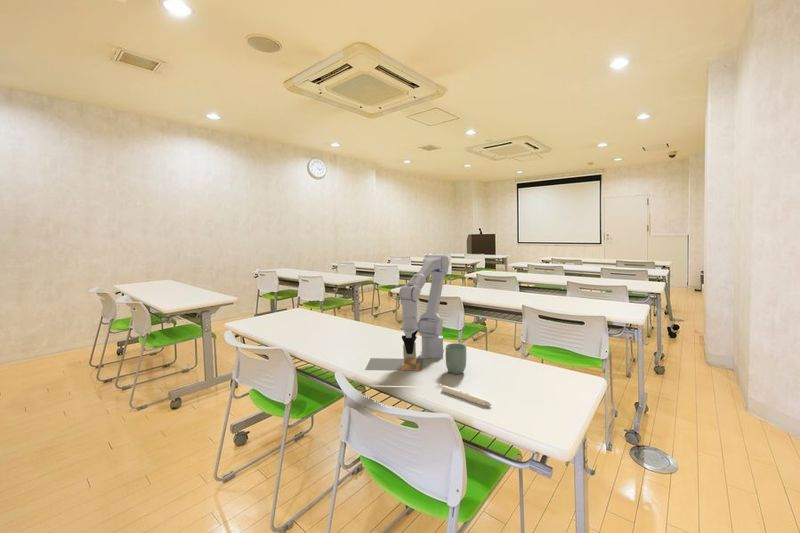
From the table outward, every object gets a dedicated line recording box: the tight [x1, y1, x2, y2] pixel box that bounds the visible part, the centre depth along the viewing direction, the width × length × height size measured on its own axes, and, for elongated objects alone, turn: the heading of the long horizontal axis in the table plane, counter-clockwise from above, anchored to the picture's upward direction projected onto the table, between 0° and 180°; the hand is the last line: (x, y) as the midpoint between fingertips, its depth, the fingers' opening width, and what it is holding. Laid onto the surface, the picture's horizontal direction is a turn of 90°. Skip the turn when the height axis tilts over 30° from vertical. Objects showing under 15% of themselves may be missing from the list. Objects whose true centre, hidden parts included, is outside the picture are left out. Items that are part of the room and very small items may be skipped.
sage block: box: [402, 341, 417, 358], centre depth 140 cm, size 4×4×4 cm
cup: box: [445, 342, 467, 375], centre depth 135 cm, size 8×8×10 cm
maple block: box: [403, 354, 417, 369], centre depth 141 cm, size 4×4×4 cm
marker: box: [441, 385, 492, 408], centre depth 114 cm, size 18×2×2 cm, turn 47°
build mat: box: [364, 357, 424, 372], centre depth 144 cm, size 22×13×1 cm, turn 85°
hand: (410, 350), depth 140 cm, fingers open, 7 cm apart
